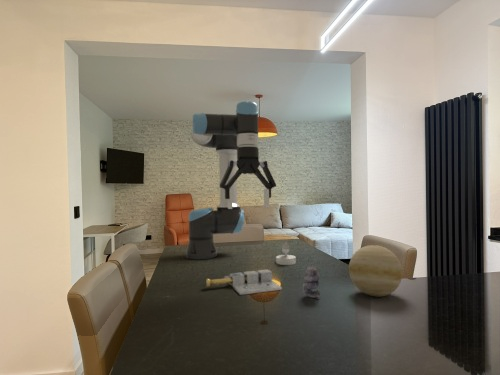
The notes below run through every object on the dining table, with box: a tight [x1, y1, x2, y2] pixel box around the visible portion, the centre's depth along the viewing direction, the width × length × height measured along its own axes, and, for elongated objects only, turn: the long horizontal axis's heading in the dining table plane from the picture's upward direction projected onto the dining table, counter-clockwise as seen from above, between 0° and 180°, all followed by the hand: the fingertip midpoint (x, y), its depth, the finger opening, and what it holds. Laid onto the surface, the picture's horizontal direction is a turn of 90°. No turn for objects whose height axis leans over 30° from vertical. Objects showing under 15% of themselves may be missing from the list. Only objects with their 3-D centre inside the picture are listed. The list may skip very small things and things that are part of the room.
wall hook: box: [275, 242, 297, 266], centre depth 140 cm, size 9×10×10 cm
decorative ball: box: [348, 244, 403, 297], centre depth 97 cm, size 15×15×15 cm
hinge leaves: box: [223, 269, 282, 296], centre depth 110 cm, size 20×14×4 cm
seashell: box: [302, 264, 321, 298], centre depth 95 cm, size 5×5×10 cm
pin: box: [205, 276, 247, 288], centre depth 108 cm, size 3×16×3 cm, turn 109°
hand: (248, 208), depth 112 cm, fingers open, 13 cm apart
